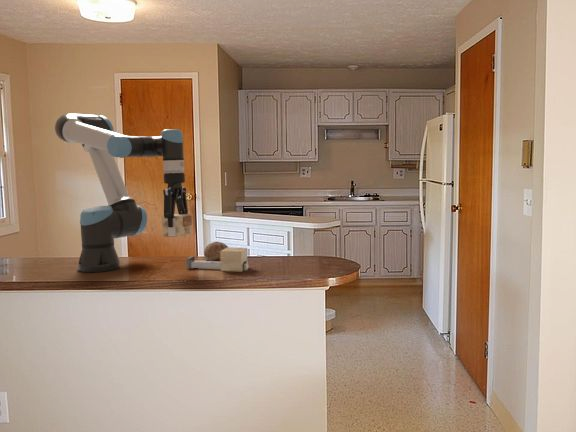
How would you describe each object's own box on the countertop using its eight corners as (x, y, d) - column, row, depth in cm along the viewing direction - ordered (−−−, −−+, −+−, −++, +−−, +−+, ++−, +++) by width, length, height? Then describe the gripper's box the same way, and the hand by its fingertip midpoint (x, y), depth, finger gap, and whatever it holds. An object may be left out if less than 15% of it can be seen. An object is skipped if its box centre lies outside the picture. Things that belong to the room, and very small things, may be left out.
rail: (185, 269, 195) (185, 249, 194) (193, 265, 202) (192, 246, 201) (244, 271, 190) (244, 251, 189) (250, 267, 197) (249, 248, 196)
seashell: (220, 261, 205) (210, 239, 207) (206, 270, 210) (196, 248, 212) (237, 256, 214) (227, 235, 216) (224, 265, 219) (214, 244, 221)
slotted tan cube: (162, 236, 189) (161, 216, 188) (172, 233, 196) (171, 214, 195) (184, 236, 187) (183, 216, 186) (193, 233, 194) (192, 213, 193)
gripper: (170, 173, 178) (174, 238, 181) (195, 171, 198) (198, 230, 200) (150, 173, 180) (154, 238, 183) (177, 171, 200) (180, 230, 202)
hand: (177, 234), depth 191 cm, fingers closed on slotted tan cube, 7 cm apart
